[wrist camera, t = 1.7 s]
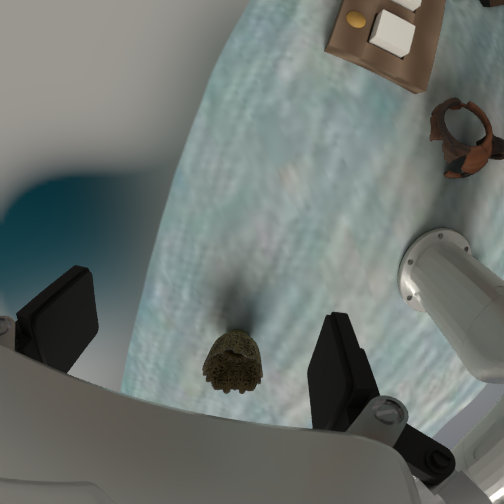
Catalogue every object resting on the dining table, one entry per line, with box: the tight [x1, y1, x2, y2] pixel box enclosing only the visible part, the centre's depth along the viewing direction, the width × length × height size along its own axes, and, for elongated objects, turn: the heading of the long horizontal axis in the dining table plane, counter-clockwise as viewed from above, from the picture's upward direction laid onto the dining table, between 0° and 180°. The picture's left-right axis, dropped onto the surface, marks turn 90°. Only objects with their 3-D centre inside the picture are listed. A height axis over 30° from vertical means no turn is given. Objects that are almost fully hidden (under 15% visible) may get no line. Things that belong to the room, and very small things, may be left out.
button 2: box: [369, 9, 416, 58], centre depth 23 cm, size 4×4×2 cm
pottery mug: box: [430, 98, 504, 179], centre depth 27 cm, size 12×10×8 cm
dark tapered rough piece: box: [202, 329, 263, 394], centre depth 38 cm, size 8×7×8 cm
